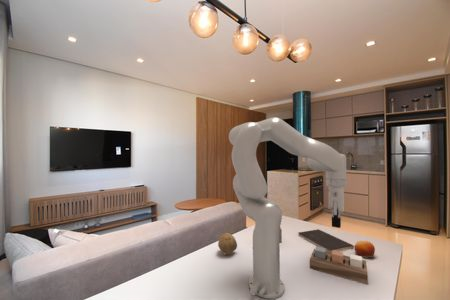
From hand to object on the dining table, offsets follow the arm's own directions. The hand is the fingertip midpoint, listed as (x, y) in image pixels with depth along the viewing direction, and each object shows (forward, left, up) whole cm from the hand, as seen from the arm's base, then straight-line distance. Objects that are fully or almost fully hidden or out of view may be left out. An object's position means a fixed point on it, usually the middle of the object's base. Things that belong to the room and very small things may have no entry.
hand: (336, 226), depth 85 cm
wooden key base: (0, 0, -17) cm, 17 cm away
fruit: (+19, -10, -18) cm, 28 cm away
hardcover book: (+26, +8, -18) cm, 33 cm away
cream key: (0, -7, -14) cm, 16 cm away
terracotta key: (0, 0, -14) cm, 14 cm away
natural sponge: (-14, +46, -18) cm, 51 cm away
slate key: (0, +6, -14) cm, 15 cm away
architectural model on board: (+9, +31, -18) cm, 37 cm away
